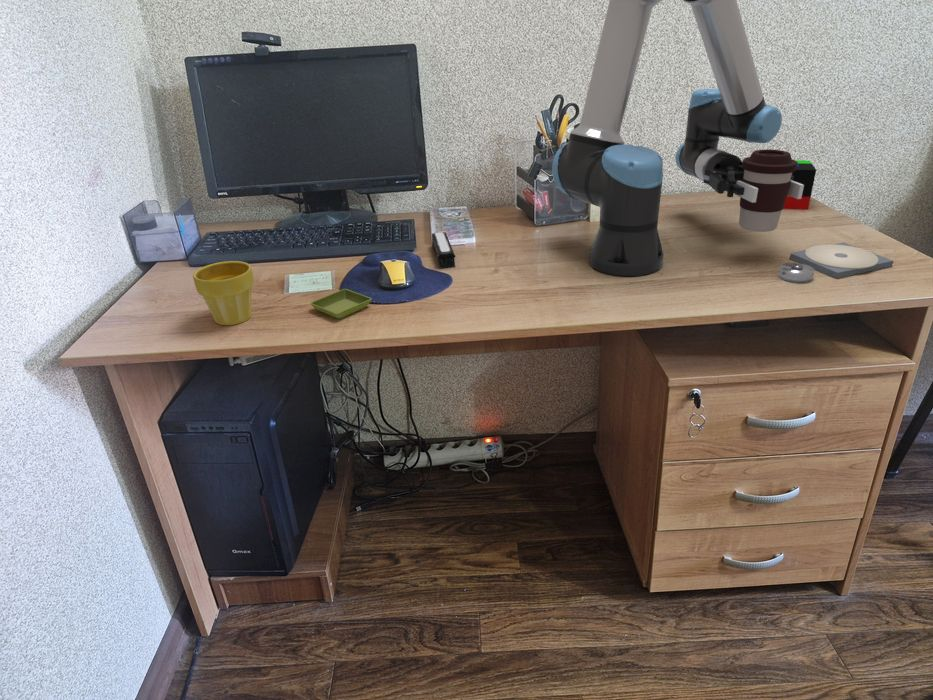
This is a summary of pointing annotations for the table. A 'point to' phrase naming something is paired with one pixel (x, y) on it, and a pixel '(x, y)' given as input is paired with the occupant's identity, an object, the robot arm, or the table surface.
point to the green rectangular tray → (341, 303)
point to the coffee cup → (766, 188)
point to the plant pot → (226, 290)
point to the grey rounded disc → (796, 272)
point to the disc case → (840, 259)
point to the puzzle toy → (805, 177)
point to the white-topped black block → (443, 250)
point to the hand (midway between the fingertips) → (778, 193)
